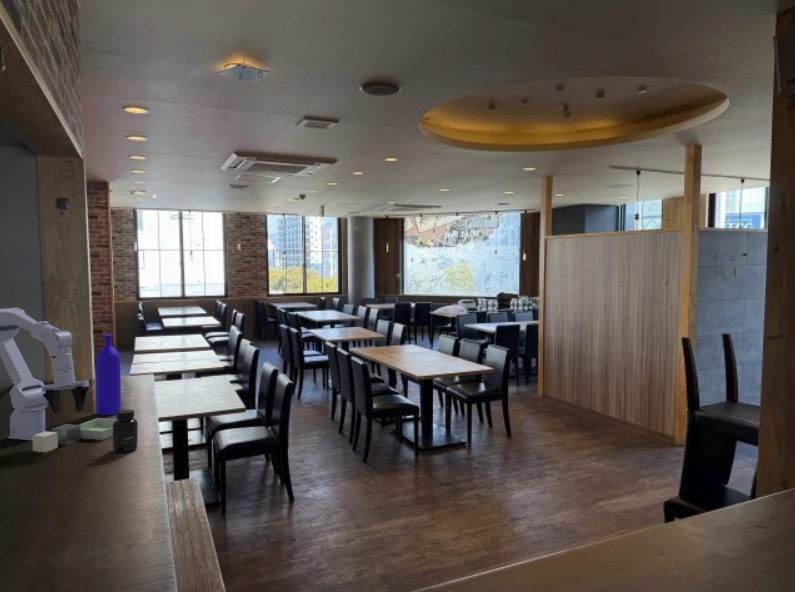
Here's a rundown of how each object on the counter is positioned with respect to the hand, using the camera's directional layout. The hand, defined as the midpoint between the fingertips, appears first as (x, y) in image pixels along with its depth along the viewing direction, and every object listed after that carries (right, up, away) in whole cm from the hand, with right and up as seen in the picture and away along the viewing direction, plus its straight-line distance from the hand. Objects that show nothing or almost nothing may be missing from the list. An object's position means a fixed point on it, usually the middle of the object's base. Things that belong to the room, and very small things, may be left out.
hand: (68, 411), depth 174 cm
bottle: (-6, -8, +35) cm, 37 cm away
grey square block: (-1, -10, +1) cm, 10 cm away
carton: (-3, -10, -7) cm, 13 cm away
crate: (+5, -9, +10) cm, 14 cm away
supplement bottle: (+21, -11, -6) cm, 24 cm away
